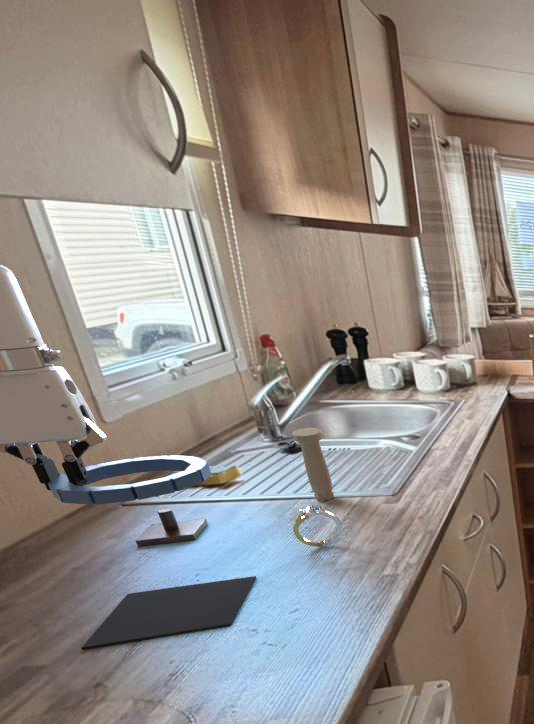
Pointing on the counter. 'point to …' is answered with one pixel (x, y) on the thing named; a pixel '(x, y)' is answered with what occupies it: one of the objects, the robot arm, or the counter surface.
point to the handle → (315, 462)
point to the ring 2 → (311, 512)
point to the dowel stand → (171, 530)
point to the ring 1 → (190, 476)
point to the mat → (172, 612)
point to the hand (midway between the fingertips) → (67, 485)
